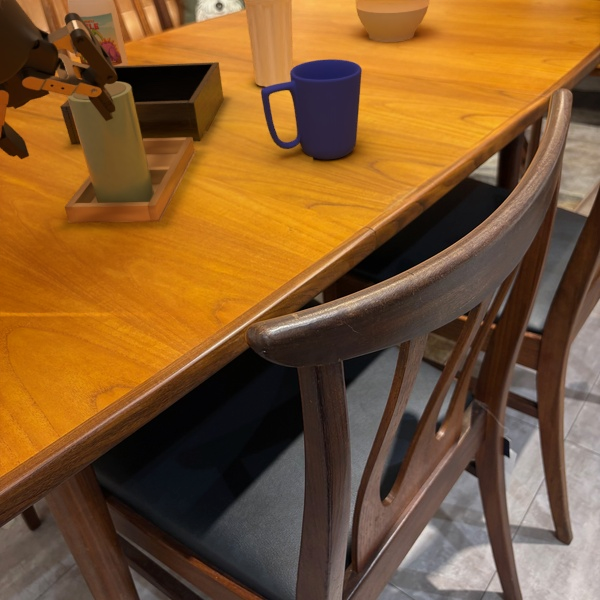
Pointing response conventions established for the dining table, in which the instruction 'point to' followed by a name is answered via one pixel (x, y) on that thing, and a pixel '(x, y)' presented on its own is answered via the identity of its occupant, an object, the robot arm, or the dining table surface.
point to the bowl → (391, 18)
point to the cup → (270, 40)
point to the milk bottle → (102, 27)
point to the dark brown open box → (168, 99)
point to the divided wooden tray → (165, 177)
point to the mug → (321, 107)
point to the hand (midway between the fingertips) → (65, 131)
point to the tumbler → (113, 147)
